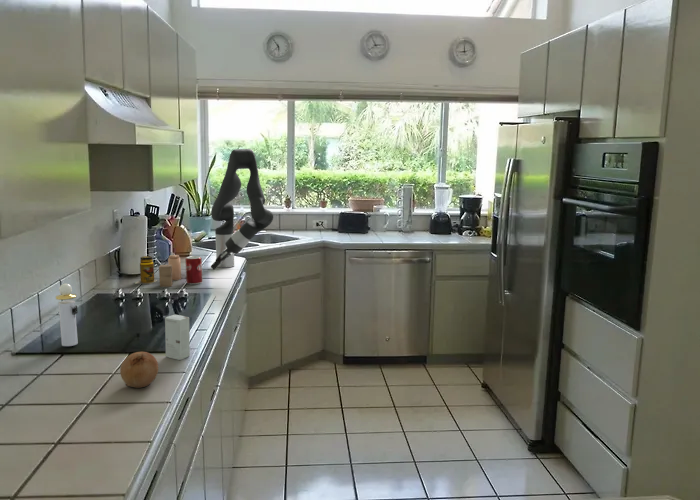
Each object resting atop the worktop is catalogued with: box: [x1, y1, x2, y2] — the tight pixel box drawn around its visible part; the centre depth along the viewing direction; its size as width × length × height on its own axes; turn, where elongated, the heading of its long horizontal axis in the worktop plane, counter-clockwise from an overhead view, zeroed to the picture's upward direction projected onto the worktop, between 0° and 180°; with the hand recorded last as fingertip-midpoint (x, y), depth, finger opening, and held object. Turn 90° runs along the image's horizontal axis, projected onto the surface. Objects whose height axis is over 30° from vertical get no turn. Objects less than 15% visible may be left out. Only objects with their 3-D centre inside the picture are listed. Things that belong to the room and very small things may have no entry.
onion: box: [119, 351, 159, 389], centre depth 157 cm, size 10×9×10 cm
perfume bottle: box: [55, 283, 79, 347], centre depth 187 cm, size 6×6×20 cm
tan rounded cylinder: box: [167, 254, 182, 281], centre depth 286 cm, size 6×6×11 cm
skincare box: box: [164, 314, 191, 361], centre depth 178 cm, size 6×4×12 cm
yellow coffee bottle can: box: [135, 255, 159, 285], centre depth 279 cm, size 7×8×12 cm
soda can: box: [185, 255, 204, 285], centre depth 277 cm, size 7×7×12 cm
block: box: [158, 264, 174, 288], centre depth 272 cm, size 5×5×9 cm
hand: (212, 267), depth 276 cm, fingers closed
